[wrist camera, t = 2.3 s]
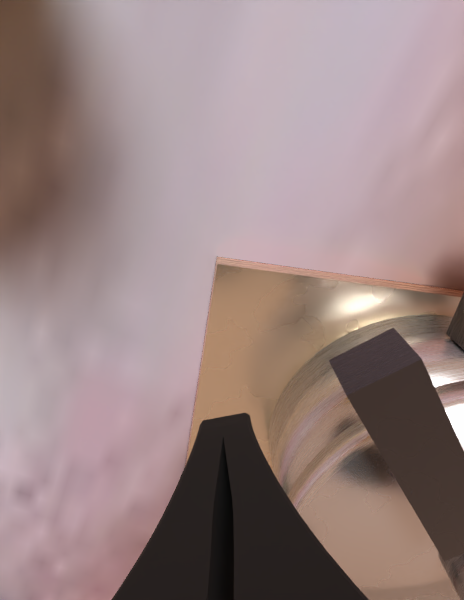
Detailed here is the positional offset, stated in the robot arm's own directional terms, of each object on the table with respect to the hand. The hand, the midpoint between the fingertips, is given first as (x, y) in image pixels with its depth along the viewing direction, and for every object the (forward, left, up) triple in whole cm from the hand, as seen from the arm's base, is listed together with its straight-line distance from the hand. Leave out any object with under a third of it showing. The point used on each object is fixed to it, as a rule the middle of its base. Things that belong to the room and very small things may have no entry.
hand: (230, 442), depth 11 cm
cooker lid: (-9, +4, -2) cm, 10 cm away
